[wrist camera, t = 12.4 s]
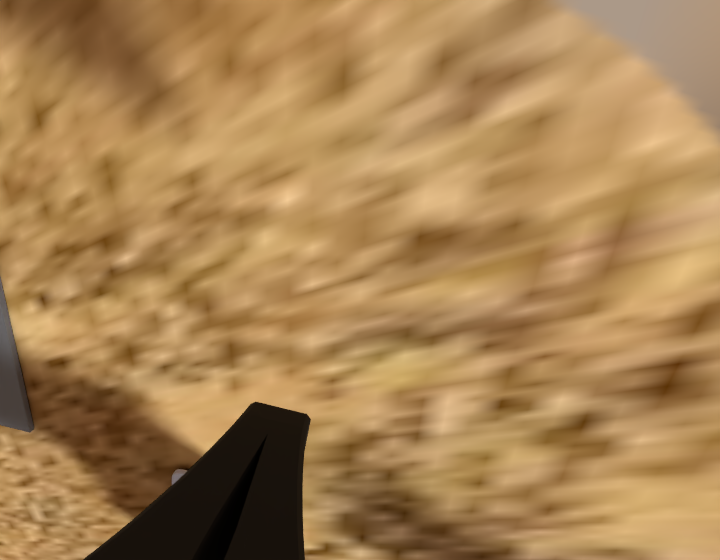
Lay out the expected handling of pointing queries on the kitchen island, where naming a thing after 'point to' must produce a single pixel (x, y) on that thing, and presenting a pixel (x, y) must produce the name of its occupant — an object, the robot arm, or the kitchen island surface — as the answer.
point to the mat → (11, 377)
